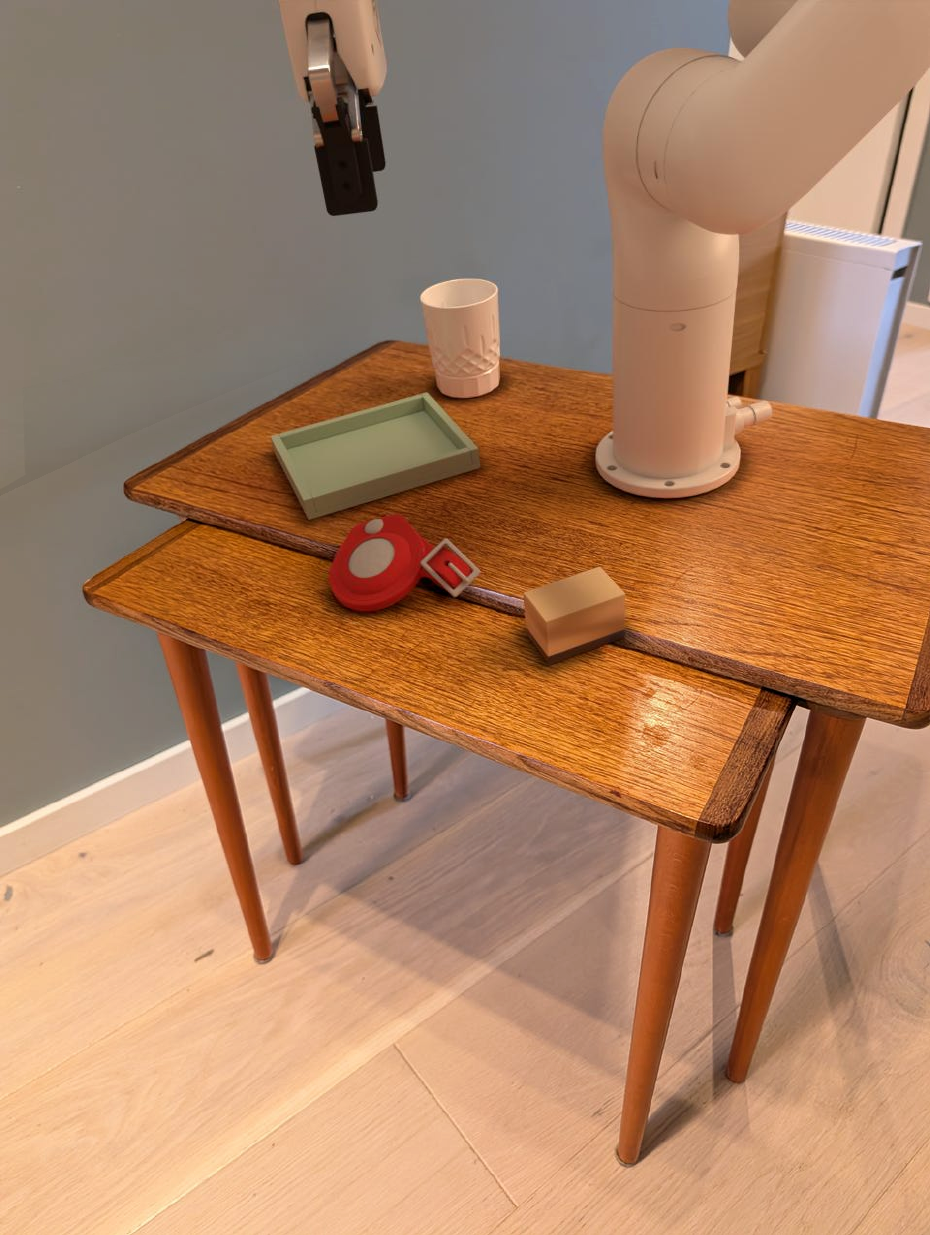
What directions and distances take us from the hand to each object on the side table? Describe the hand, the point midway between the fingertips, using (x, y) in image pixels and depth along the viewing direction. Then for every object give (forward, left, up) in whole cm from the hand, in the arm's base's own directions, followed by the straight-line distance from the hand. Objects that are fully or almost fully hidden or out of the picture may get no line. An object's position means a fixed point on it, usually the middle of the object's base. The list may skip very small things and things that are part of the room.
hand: (359, 190), depth 60 cm
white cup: (-14, -22, -27) cm, 38 cm away
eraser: (-5, +20, -27) cm, 34 cm away
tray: (0, -12, -27) cm, 29 cm away
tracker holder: (+4, +8, -27) cm, 28 cm away
